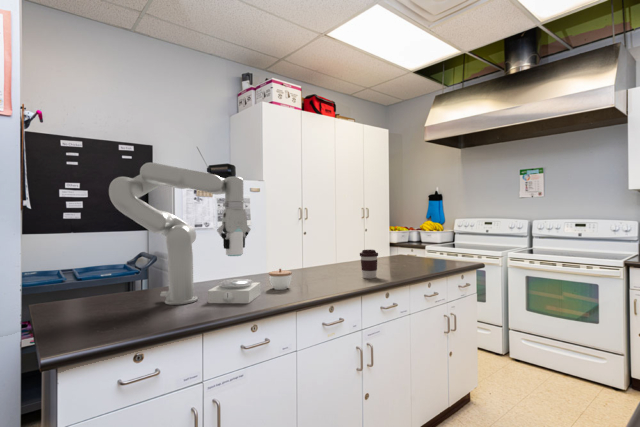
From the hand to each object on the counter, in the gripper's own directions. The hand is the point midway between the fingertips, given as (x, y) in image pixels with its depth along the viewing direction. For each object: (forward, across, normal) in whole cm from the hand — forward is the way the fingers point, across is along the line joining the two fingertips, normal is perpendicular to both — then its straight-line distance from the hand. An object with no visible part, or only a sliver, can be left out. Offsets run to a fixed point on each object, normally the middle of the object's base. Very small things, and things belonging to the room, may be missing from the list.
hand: (234, 247), depth 149 cm
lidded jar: (+21, +26, -1) cm, 33 cm away
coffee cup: (+20, +73, -19) cm, 78 cm away
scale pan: (+15, 0, 0) cm, 15 cm away
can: (+3, 0, 0) cm, 3 cm away
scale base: (+21, 0, 0) cm, 21 cm away
